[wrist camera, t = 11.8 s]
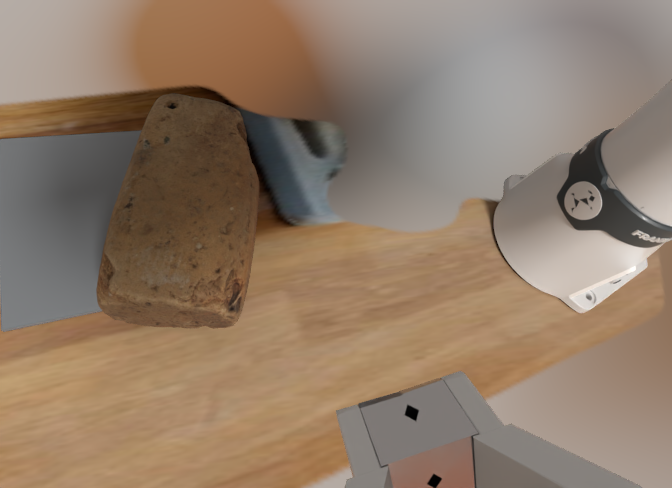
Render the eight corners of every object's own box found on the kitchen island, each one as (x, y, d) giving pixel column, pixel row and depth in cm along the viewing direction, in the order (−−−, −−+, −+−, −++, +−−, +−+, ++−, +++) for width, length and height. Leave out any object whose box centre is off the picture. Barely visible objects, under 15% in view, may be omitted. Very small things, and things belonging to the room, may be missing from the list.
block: (73, 293, 26) (149, 79, 35) (100, 327, 32) (158, 138, 42) (246, 311, 28) (273, 106, 38) (239, 339, 34) (264, 158, 44)
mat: (183, 130, 43) (182, 127, 42) (219, 286, 37) (219, 284, 36) (-2, 142, 37) (-4, 139, 36) (3, 331, 30) (1, 330, 30)
